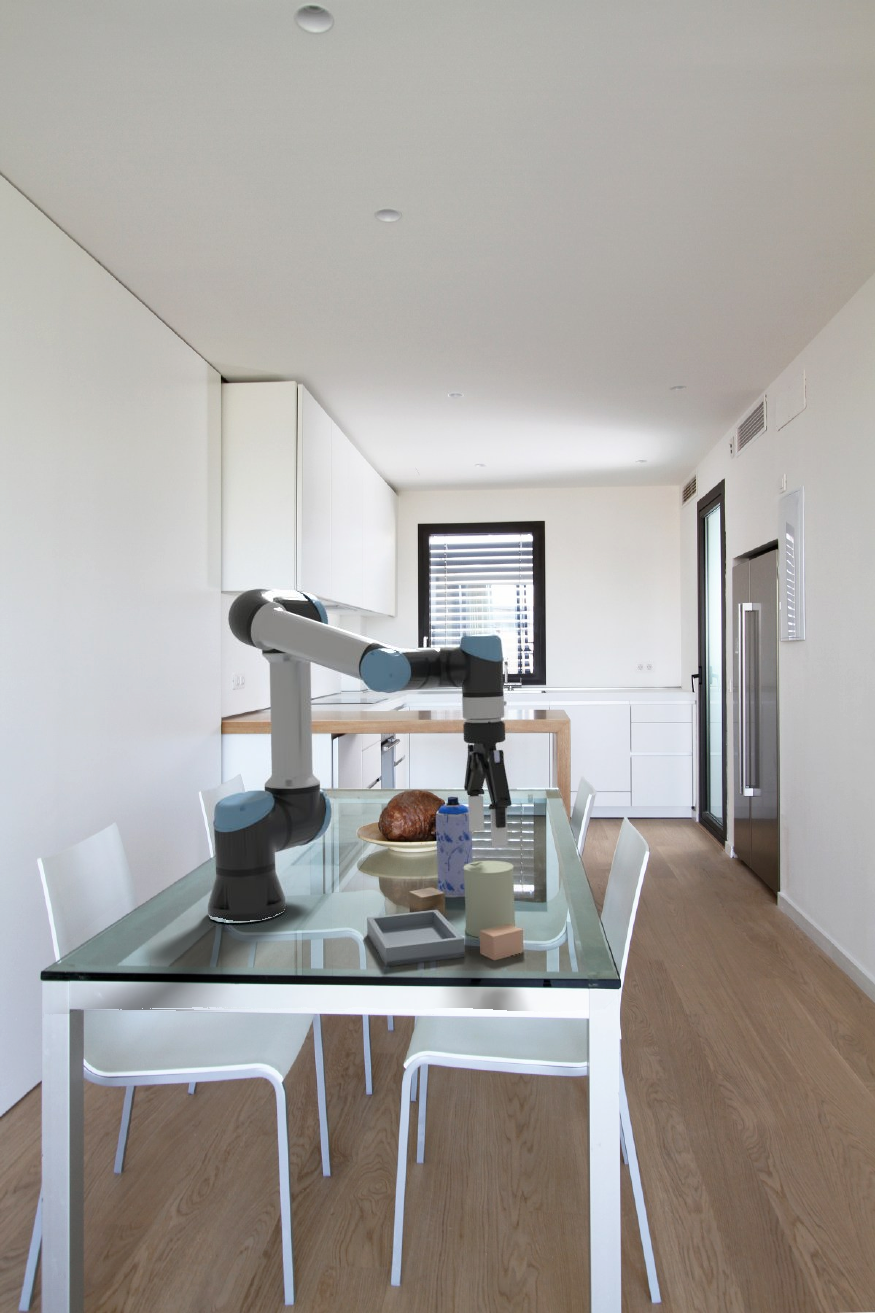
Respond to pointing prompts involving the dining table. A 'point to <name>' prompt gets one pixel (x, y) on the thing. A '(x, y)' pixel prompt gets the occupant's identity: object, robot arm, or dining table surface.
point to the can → (488, 895)
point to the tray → (414, 937)
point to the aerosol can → (453, 847)
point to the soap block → (501, 941)
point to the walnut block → (427, 900)
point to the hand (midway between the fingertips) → (487, 838)
